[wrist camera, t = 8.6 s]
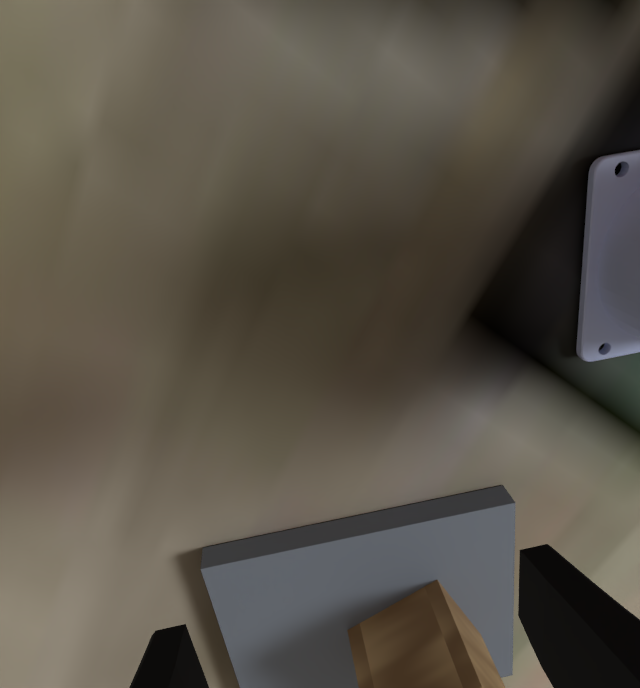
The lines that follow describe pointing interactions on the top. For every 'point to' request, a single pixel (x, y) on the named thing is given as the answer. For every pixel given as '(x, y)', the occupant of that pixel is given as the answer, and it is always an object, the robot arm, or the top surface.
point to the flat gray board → (359, 585)
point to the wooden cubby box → (422, 646)
